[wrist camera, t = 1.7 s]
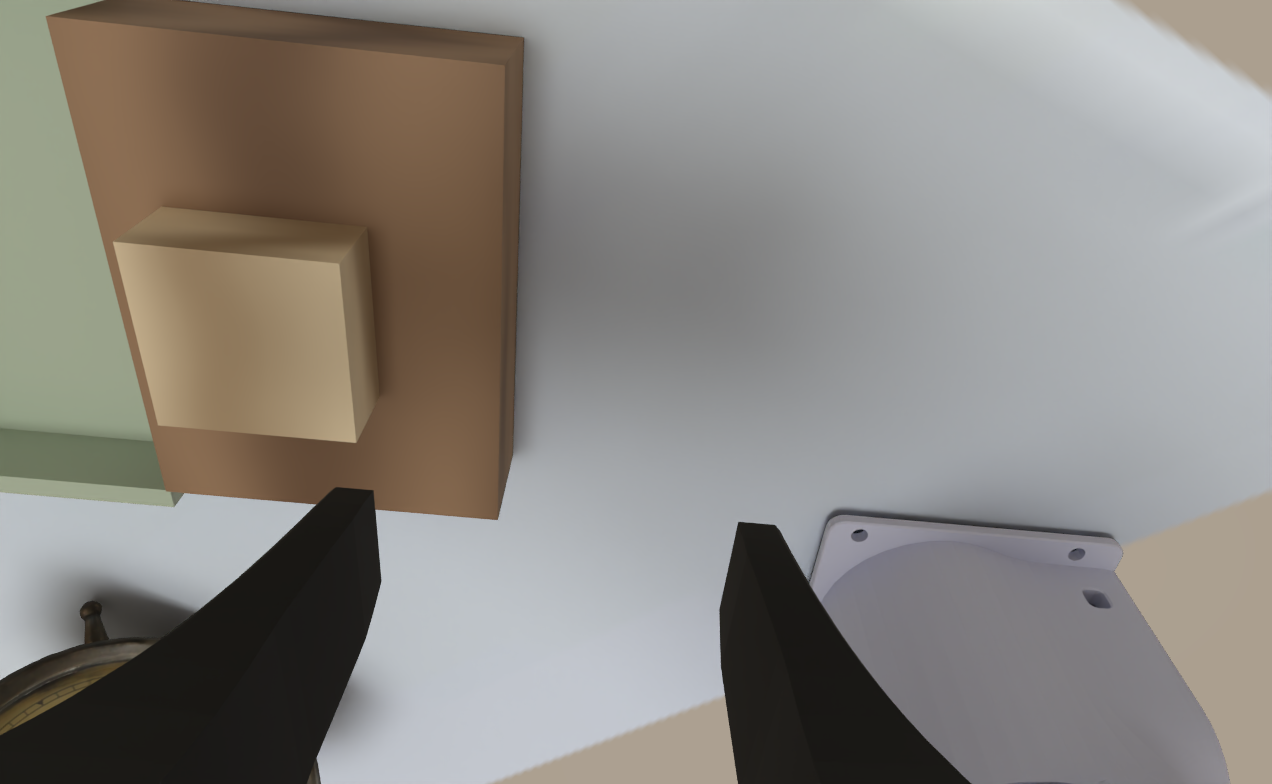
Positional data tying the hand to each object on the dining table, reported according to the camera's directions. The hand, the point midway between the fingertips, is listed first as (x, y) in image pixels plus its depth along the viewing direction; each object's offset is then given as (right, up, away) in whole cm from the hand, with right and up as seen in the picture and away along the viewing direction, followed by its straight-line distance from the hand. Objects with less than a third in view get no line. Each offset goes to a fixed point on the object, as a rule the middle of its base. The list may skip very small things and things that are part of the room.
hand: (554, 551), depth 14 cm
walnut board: (-6, +6, +9) cm, 12 cm away
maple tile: (-7, +5, +6) cm, 10 cm away
